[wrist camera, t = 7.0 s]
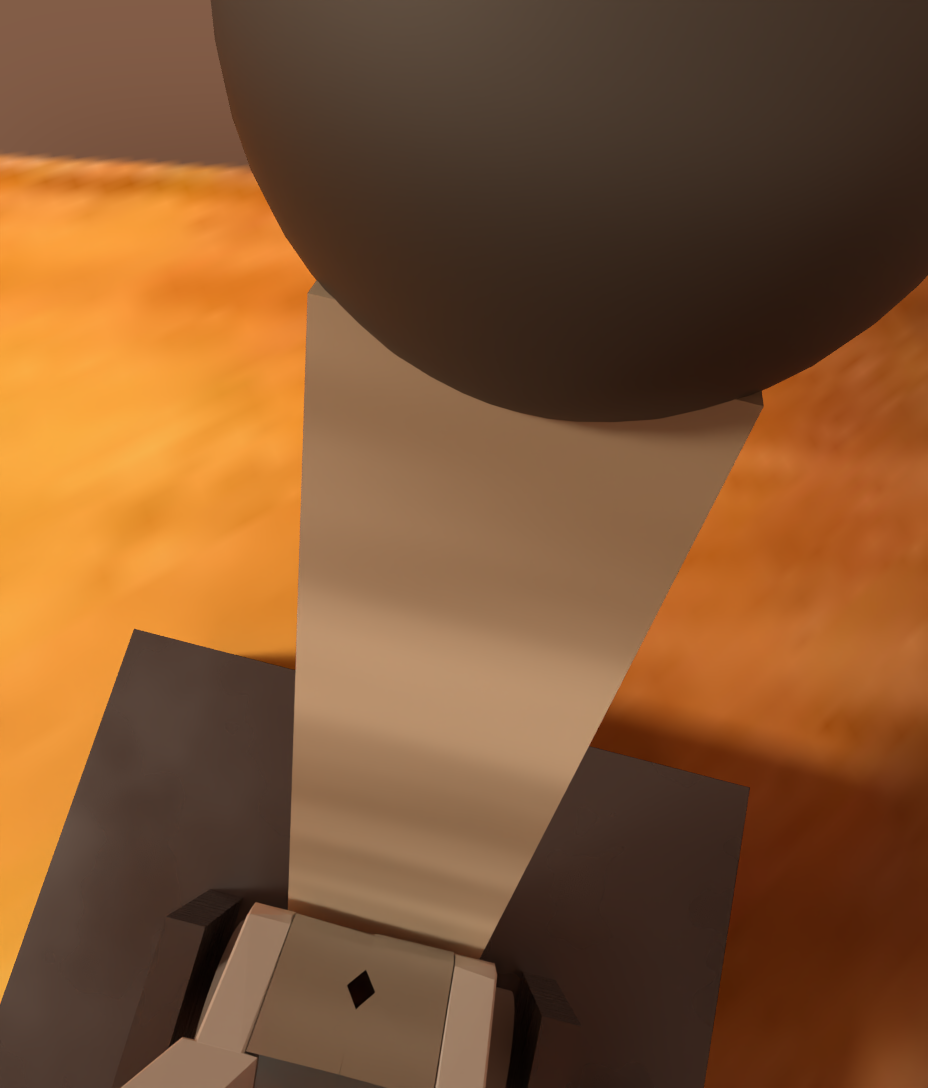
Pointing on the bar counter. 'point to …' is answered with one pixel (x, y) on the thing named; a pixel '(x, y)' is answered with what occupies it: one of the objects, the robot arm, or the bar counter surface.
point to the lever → (538, 375)
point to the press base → (263, 876)
